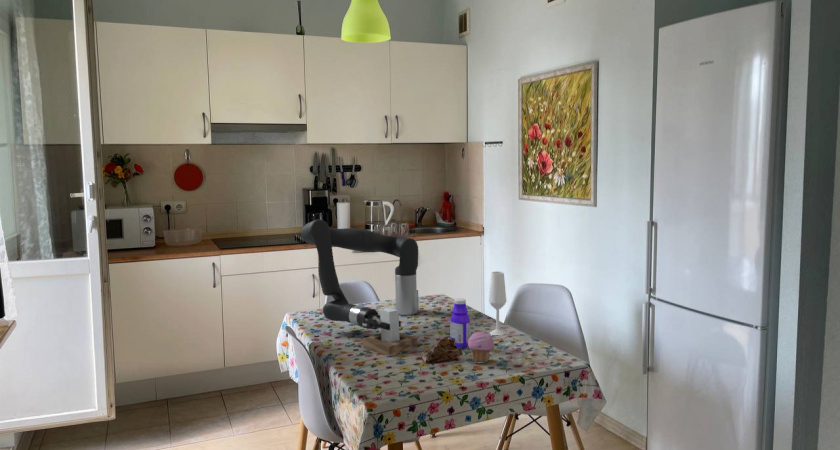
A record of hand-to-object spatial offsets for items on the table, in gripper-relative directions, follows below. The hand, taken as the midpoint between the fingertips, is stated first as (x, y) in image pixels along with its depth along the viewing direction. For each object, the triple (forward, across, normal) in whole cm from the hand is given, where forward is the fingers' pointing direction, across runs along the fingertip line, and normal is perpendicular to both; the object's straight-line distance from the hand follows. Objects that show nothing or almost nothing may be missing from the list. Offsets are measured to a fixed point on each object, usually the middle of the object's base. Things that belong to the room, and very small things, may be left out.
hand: (394, 325), depth 229 cm
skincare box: (-3, 0, +7) cm, 7 cm away
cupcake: (+31, +10, +9) cm, 34 cm away
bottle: (+15, +18, +9) cm, 25 cm away
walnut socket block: (-3, 0, +9) cm, 9 cm away
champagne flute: (+16, +39, +9) cm, 43 cm away
